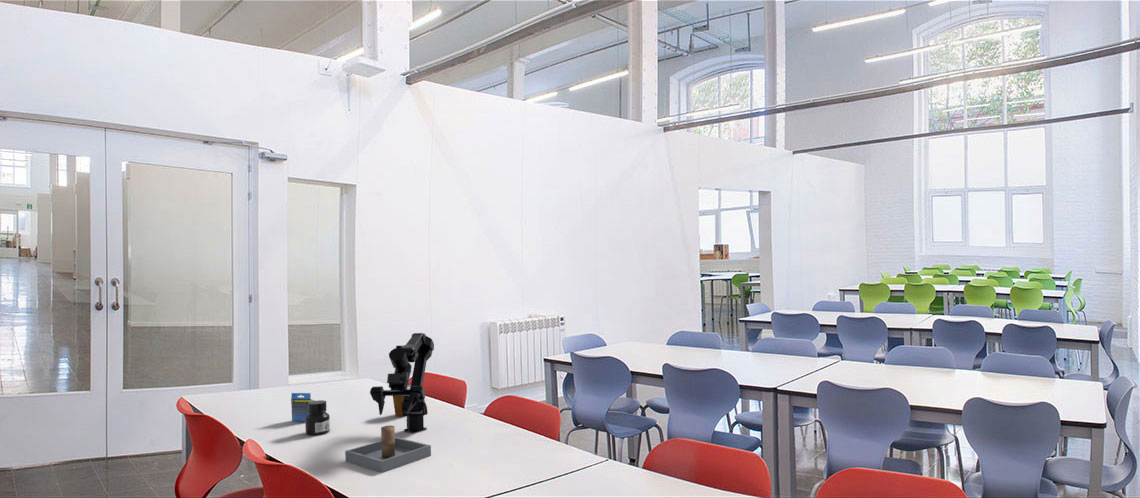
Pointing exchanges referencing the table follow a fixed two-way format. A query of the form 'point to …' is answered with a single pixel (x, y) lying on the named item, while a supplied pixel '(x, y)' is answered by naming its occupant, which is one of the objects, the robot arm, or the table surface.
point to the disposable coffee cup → (399, 404)
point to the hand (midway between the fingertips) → (393, 414)
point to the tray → (373, 458)
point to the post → (388, 441)
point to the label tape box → (300, 406)
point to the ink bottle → (317, 418)
